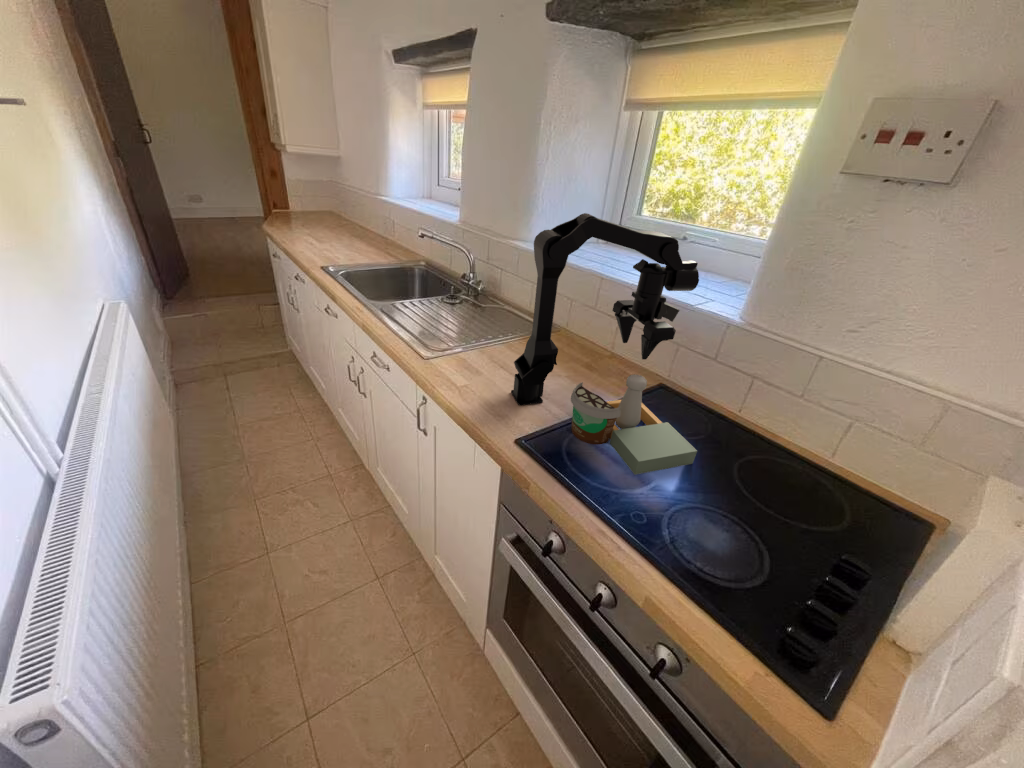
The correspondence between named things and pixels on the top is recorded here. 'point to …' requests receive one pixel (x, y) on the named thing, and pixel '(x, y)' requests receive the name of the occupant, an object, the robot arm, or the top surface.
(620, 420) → the salt shaker
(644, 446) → the orange and green frame
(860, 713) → the top surface
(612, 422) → the food container
